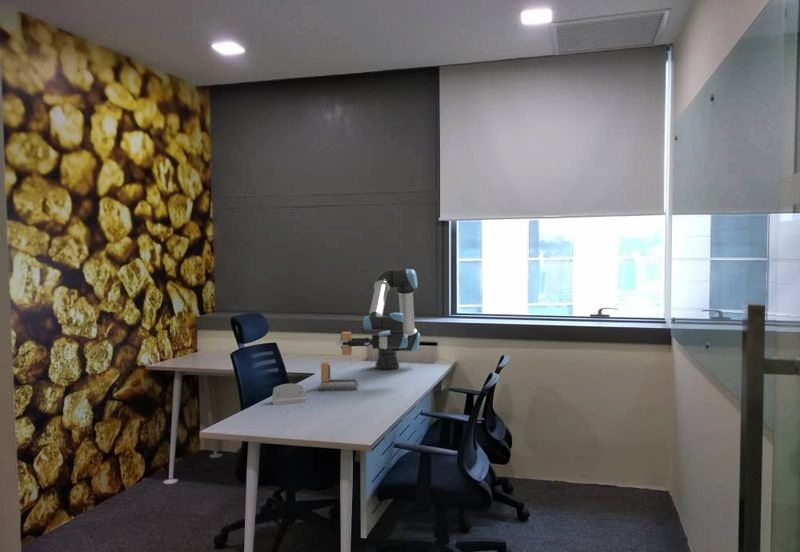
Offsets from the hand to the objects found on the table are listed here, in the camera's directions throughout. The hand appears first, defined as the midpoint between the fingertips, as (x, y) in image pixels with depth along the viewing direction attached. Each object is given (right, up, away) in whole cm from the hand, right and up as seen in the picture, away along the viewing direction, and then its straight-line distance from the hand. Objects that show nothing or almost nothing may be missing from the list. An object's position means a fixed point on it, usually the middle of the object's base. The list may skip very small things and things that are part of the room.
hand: (337, 342), depth 313 cm
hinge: (-21, -27, -27) cm, 43 cm away
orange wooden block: (+5, -7, 0) cm, 8 cm away
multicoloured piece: (+1, -25, 0) cm, 25 cm away
